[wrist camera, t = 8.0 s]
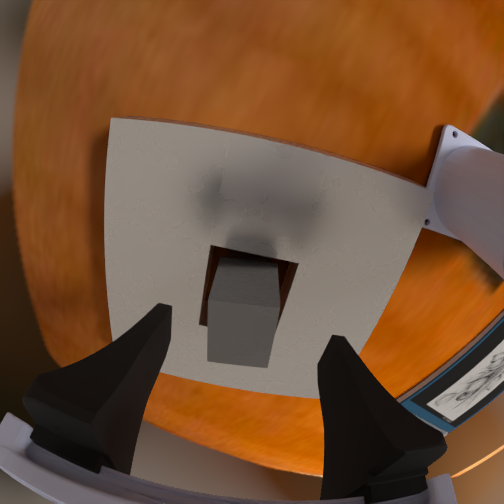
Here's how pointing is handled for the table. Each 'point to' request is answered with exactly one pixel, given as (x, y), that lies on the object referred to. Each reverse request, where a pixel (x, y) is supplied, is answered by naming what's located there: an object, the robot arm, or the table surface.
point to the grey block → (243, 310)
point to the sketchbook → (461, 382)
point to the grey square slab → (252, 240)
